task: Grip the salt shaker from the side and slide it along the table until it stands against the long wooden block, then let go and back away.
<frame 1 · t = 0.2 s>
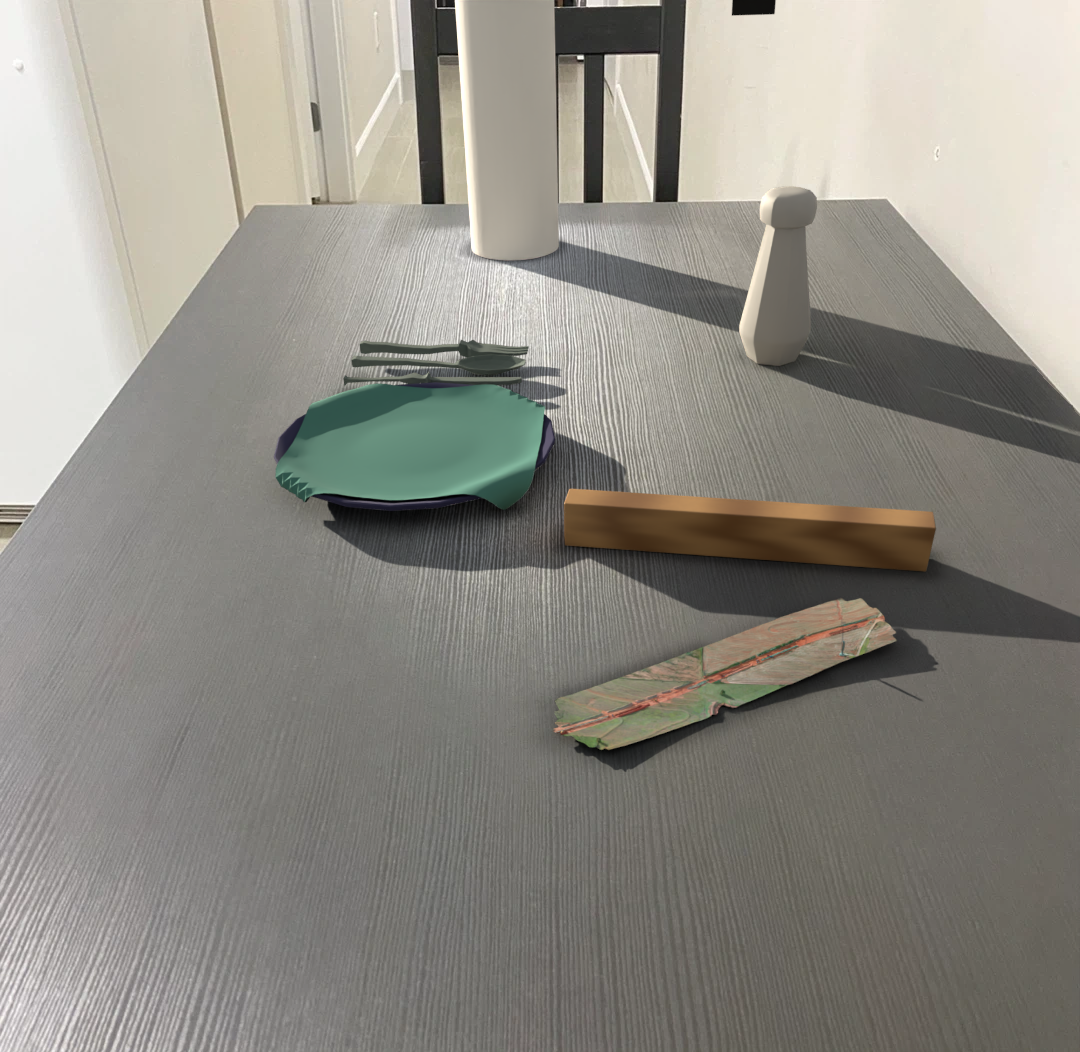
hand: (758, 2, 75), 25 cm above the table, tool pointing down, fingers open, 13 cm apart
salt shaker: (771, 358, 92), on the table
map: (729, 678, 58), on the table
long wooden block: (741, 550, 68), on the table
cutlery set: (429, 434, 82), on the table
cylinder container: (515, 248, 117), on the table
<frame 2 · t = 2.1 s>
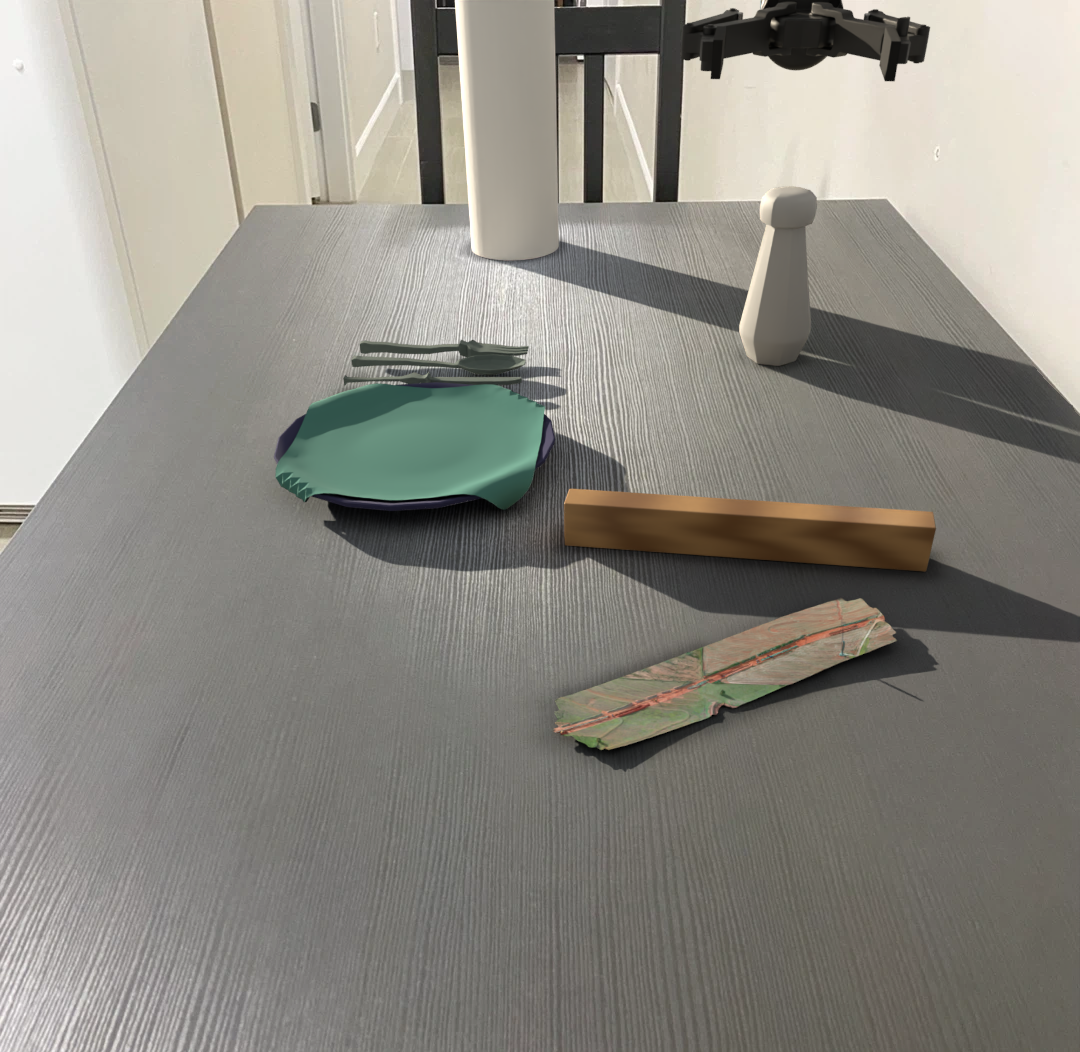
hand: (803, 60, 85), 20 cm above the table, tool horizontal, fingers open, 13 cm apart
nothing on the table moved.
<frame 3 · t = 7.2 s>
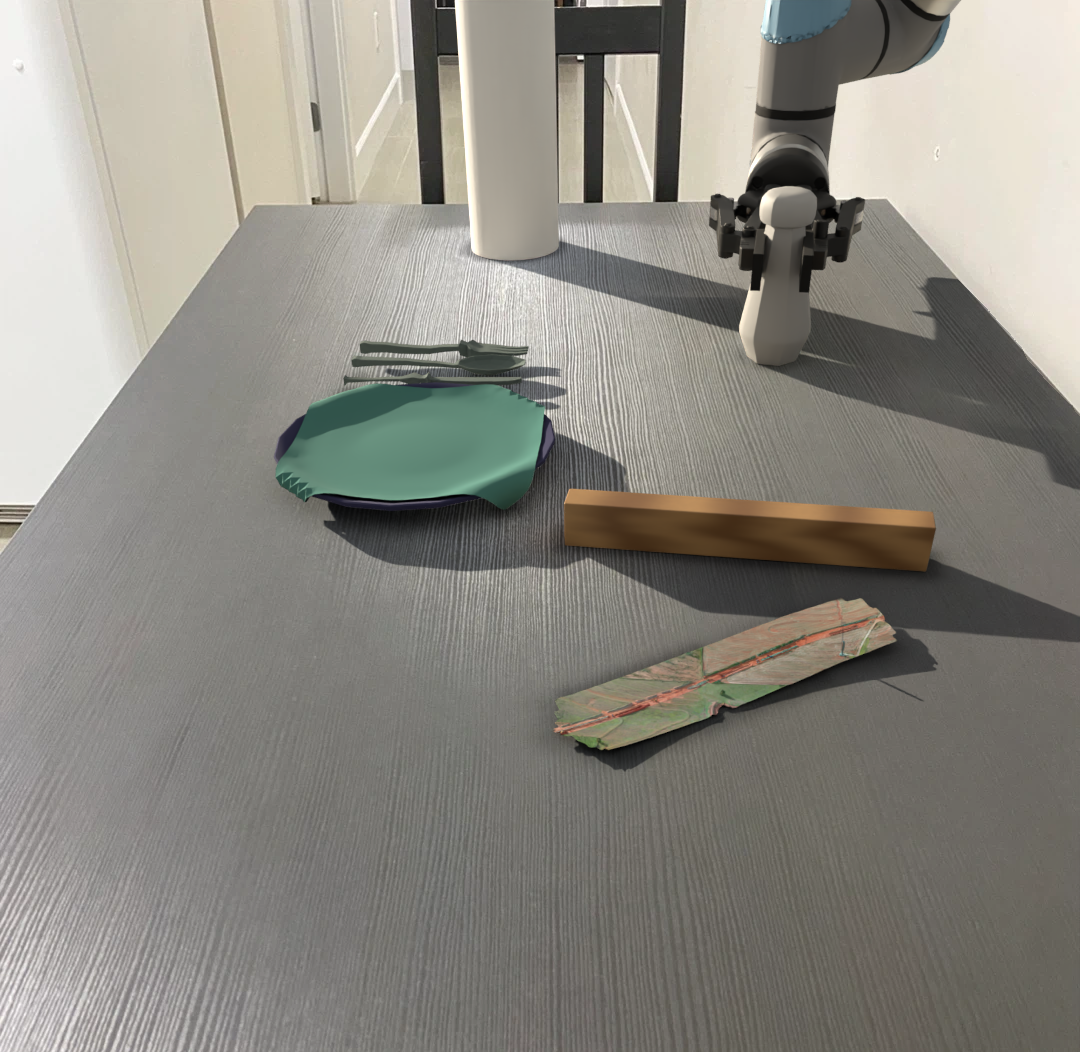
hand: (781, 273, 82), 8 cm above the table, tool horizontal, fingers closed on salt shaker, 3 cm apart
salt shaker: (771, 358, 92), on the table, touching gripper
everything else where it was.
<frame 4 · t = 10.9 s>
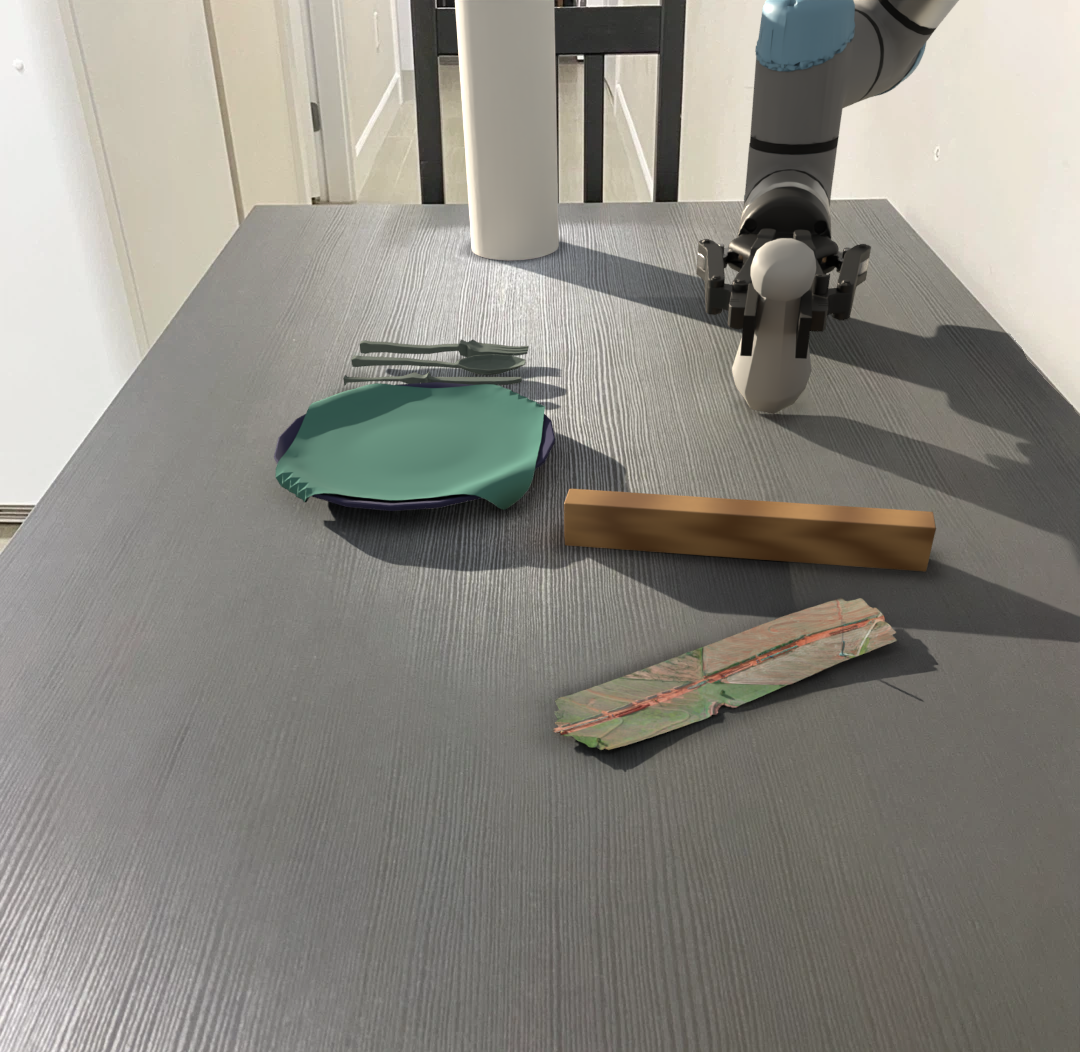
hand: (775, 337, 72), 8 cm above the table, tool horizontal, fingers closed on salt shaker, 3 cm apart
salt shaker: (768, 395, 84), point 1 cm above the table, touching gripper
everything else where it was.
when the fingers open (8 cm above the table, at t = 14.8 s): salt shaker stays where it is, point 1 cm above the table.
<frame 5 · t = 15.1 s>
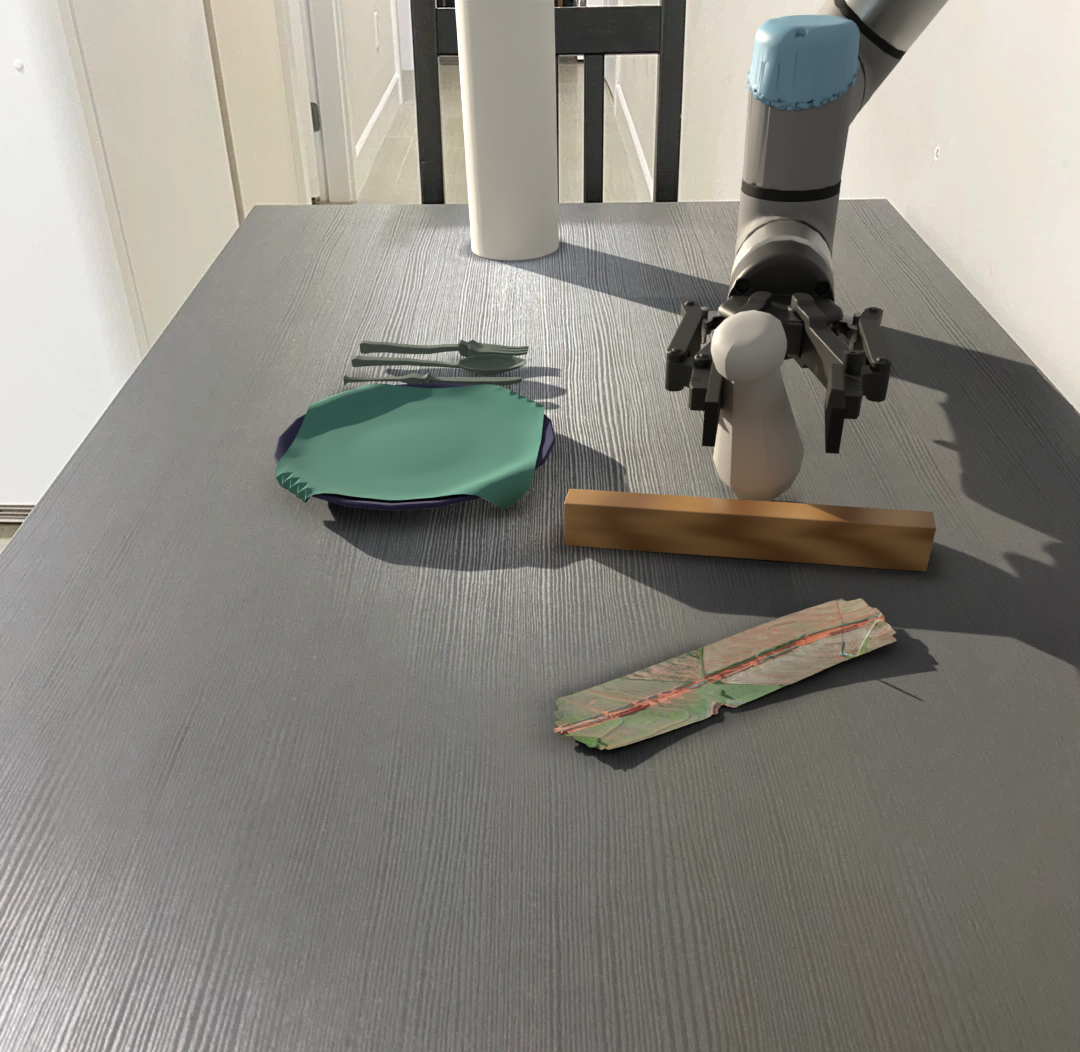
hand: (772, 427, 62), 8 cm above the table, tool horizontal, fingers open, 6 cm apart
salt shaker: (761, 481, 73), point 1 cm above the table, touching gripper
everything else where it was.
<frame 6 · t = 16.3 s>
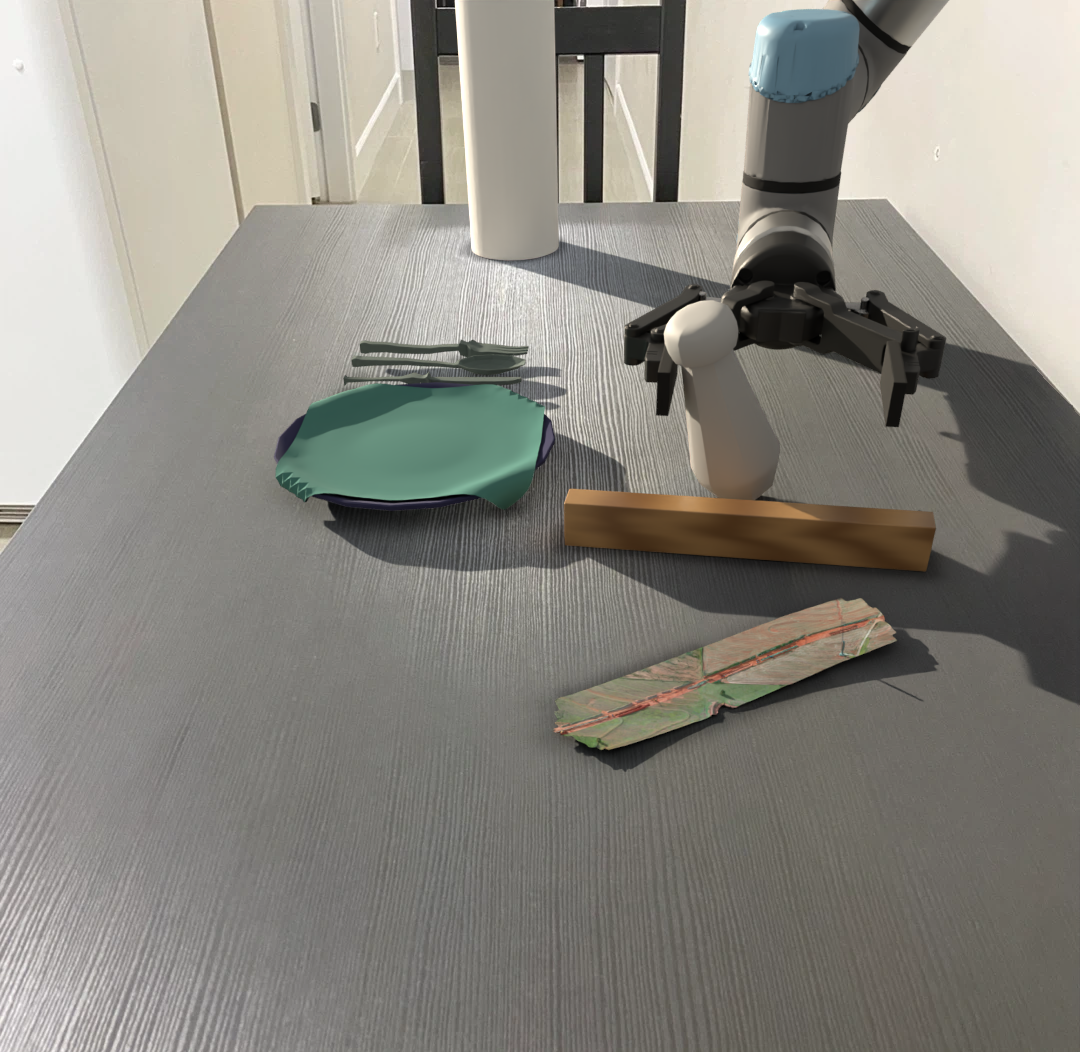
hand: (777, 400, 65), 8 cm above the table, tool horizontal, fingers open, 13 cm apart
salt shaker: (743, 486, 73), point 1 cm above the table, touching gripper
everything else where it was.
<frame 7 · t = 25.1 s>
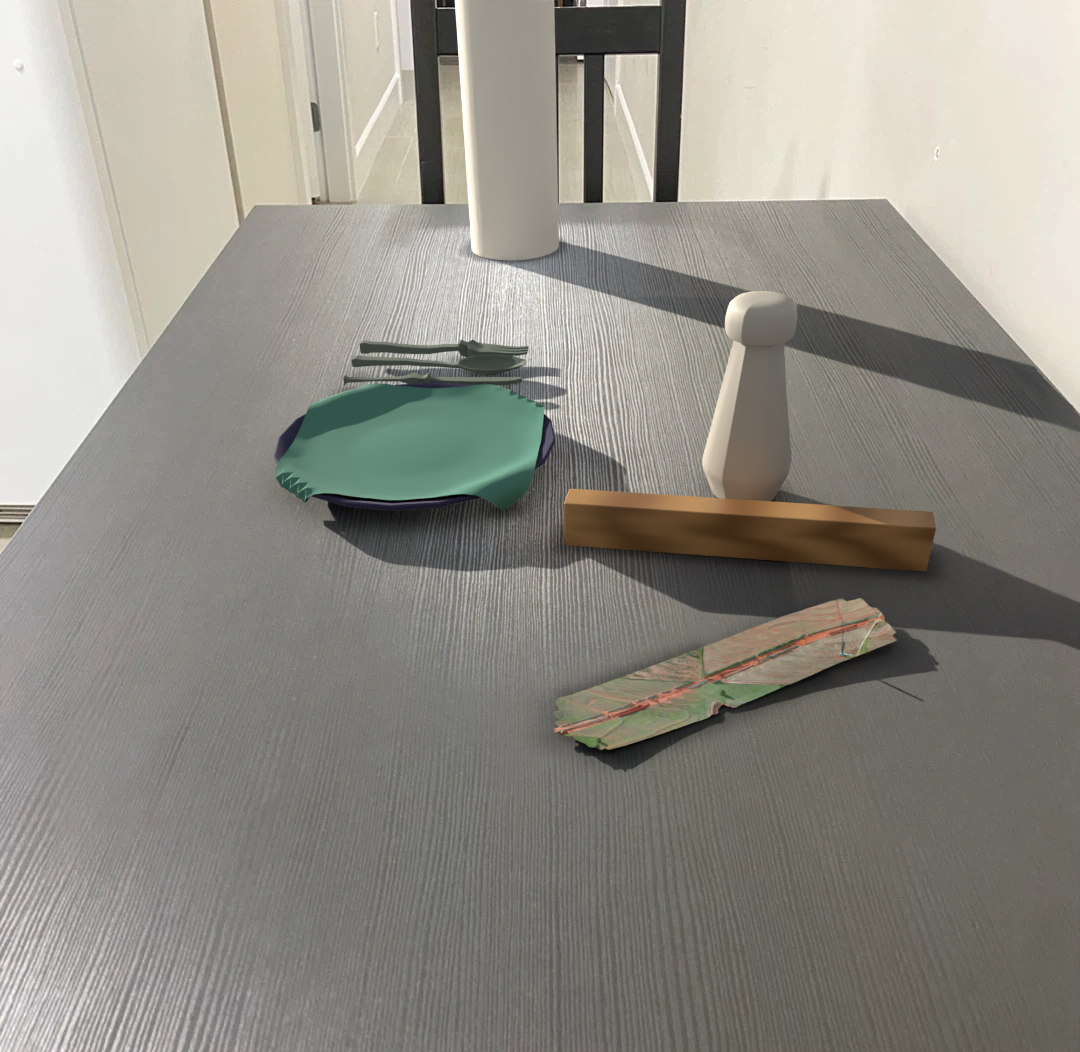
salt shaker: (743, 495, 74), on the table
everything else where it was.
at the end: salt shaker inside the target area on the table beside the long wooden block (2.0 cm from its centre), on the table; salt shaker tilted 0°; the gripper is holding nothing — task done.
